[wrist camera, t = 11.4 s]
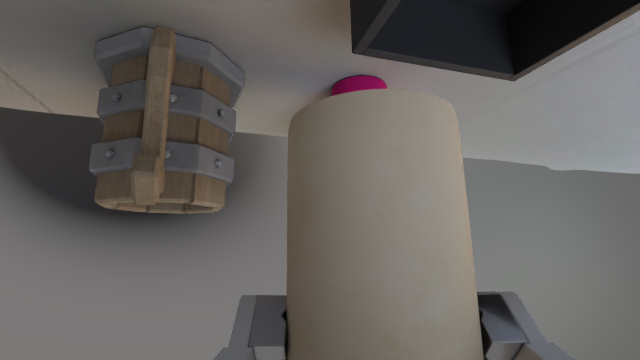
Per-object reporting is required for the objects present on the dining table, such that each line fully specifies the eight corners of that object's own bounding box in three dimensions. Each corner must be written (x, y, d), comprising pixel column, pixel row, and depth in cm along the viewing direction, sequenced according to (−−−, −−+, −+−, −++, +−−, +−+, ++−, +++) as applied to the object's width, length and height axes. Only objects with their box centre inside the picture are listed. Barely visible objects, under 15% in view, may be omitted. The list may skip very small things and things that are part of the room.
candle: (499, 91, 8) (561, 545, 6) (411, 150, 14) (430, 406, 12) (292, 79, 8) (290, 591, 6) (285, 146, 13) (282, 420, 11)
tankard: (231, 106, 40) (225, 224, 37) (114, 86, 35) (96, 222, 32) (276, -7, 22) (272, 205, 19) (50, -81, 17) (-5, 193, 14)
